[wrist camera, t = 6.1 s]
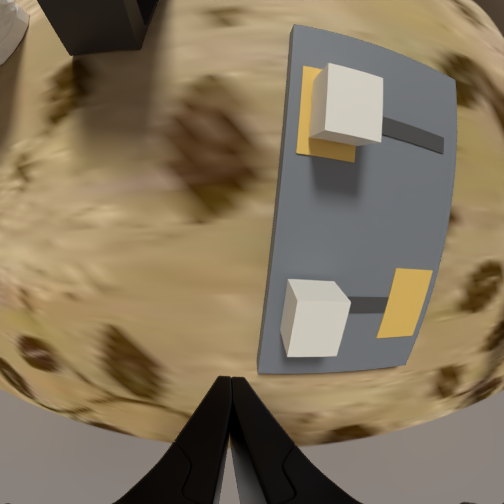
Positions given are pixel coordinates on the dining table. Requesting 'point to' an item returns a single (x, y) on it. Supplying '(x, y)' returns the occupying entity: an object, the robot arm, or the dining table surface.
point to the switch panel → (361, 205)
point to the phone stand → (99, 23)
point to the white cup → (11, 27)
